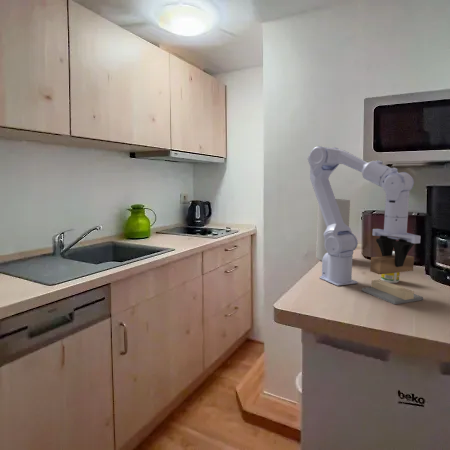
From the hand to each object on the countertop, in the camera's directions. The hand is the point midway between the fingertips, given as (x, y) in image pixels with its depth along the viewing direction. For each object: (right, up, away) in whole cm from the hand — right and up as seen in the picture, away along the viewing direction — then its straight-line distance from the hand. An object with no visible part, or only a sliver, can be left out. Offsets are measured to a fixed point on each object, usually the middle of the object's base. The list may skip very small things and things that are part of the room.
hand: (392, 264), depth 94 cm
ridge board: (0, -9, +1) cm, 9 cm away
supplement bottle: (+7, -7, +15) cm, 18 cm away
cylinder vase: (-3, -4, +46) cm, 46 cm away
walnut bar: (0, -2, 0) cm, 2 cm away
